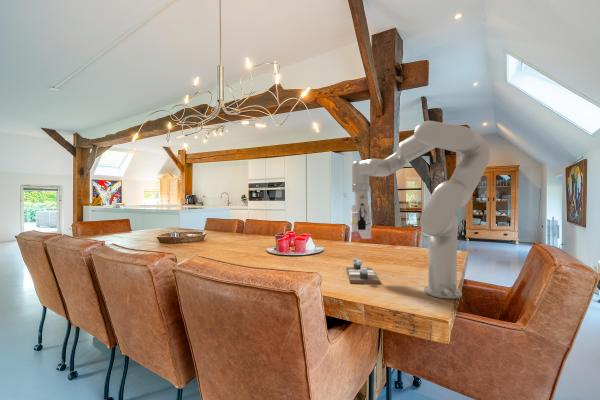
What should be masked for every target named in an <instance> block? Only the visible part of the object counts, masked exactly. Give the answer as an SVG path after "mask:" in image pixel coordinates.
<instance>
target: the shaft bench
mask: <svg viewBox="0 0 600 400" xmlns="http://www.w3.org/2000/svg"><path fill="white" fill-rule="evenodd" d="M352 263H353V267H350V266H349V267H346V270H345V271H346V273H347V276H348V277H347V278H348V281H349V283H350V284H357V285H358V284H361V285H362V284H366V285H372V284H373V285H379V284H380V279H379V278H378V275H377V274H376V273H375V271H374V270H373V268H372V267H366V265H363V261H362V260H361V259H359V258H357V257H356V258H352Z"/></svg>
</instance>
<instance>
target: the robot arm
mask: <svg viewBox="0 0 600 400" xmlns="http://www.w3.org/2000/svg"><path fill="white" fill-rule="evenodd" d="M436 148H437V149H442V150H446V151H451V152H454V153H456V154H460V155H461V159H460V161H459V163H458V164H457V165H456V166H455V169H454V171H453V173H452V175H451V177H450V178H449V180H444V181H442V182H441V183H439V184H438V185H437V186H436V187H435V188H434V190H433V192H432V193H431V195H430V197H429V199H428V201H427V203H426V205H425V207H424V209H423V212H422V213H421V216H420V219H419V226H420V228H421V231H422V232H423V233H424V234H426V235H427V236H428V246H427V247H428V248H427V249H428V252H427V253H428V255H427V256H428V262H427V263H428V266H427V267H428V276H427V277H428V285H426V286H424V287H423V292H424V293H425V294H427V295H428V296H431V297H433V298H434V297H435V298H439V299H445V300H447V299H448V300H449V299H450V300H453V299H459V298H461V297H462V296H463V292H462V291H461V290H460V289H459V288H458V235H459V222H460V221H459V218H458V215H457V212H458V210H459V208H462V207H464V206H466V205H467V204H468V203H469V201H470V199H471V197H472V195H473V194H474V191H475V190H476V188H477V186H478V184H479V183H480V180H481V179H482V177H483V174H484V173H485V171H486V169H487V167H488V165H489V163H490V162H489V161H490V158H491V151H490V146H489V144H488V143H487V141H486V139H484V138H483V136H482V135H481V134H479V132H477V131H475V130H473V129H471V128H469V127H467V126H465V125H464V126H463V125H459V124H453V123H447V122H440V121H435V120H425V121H421V122H420V123H418V125H417V126H416V127H415V129H414V132H413V134H412V135H410V136H409V137H407V138H405V139H404V140H402V141H400V142H399V143H398V149H397V151H396V152H394V153H393V154H391V155H390V156H388V157H386V158H384V159H380V158H374V157H373V158H369V159H365V160H363V159H362V160H355V161H353V162H352V164H351V165H352V166H351V167H352V168H351V170H352V171H351V172H352V173H351V177H352V181H351V182H352V183H351V184H352V186H351V188H352V190H351V191H352V192H354V205H355V210H356V212H357V213H358V216H359V221H358V230H365V229H366V221H365V211H366V212H367V214H368V205H369V196H368V193H369V192H370V177H379V178H380V177H381V178H384V177H388V176H390V175H392V174H394V173H396V172H398V171H400V170H401V169H403V168H404V167H405V166H407V165H408V164H409V163H410V162H411V161H413V160H415V159H416V158H419V157H420V156H422V155H425V154H427V153H428V152H430V151H432V150H434V149H436ZM359 210H360V212H361V213H360V212H359Z"/></svg>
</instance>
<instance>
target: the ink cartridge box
mask: <svg viewBox="0 0 600 400" xmlns="http://www.w3.org/2000/svg"><path fill="white" fill-rule="evenodd" d="M359 212H360V210H359ZM360 213H361V212H360ZM358 221H359V216H358V213H357V212H356V210H355V204H352V205H351V212H350V238H351V239H356V240H357V239H358V240H359V239H367V240H369V239H370V240H371V239H372V212H371V211H370V205H369V204H368V214H367V212H366V211H365V221H366V229H365V230H358Z"/></svg>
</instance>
